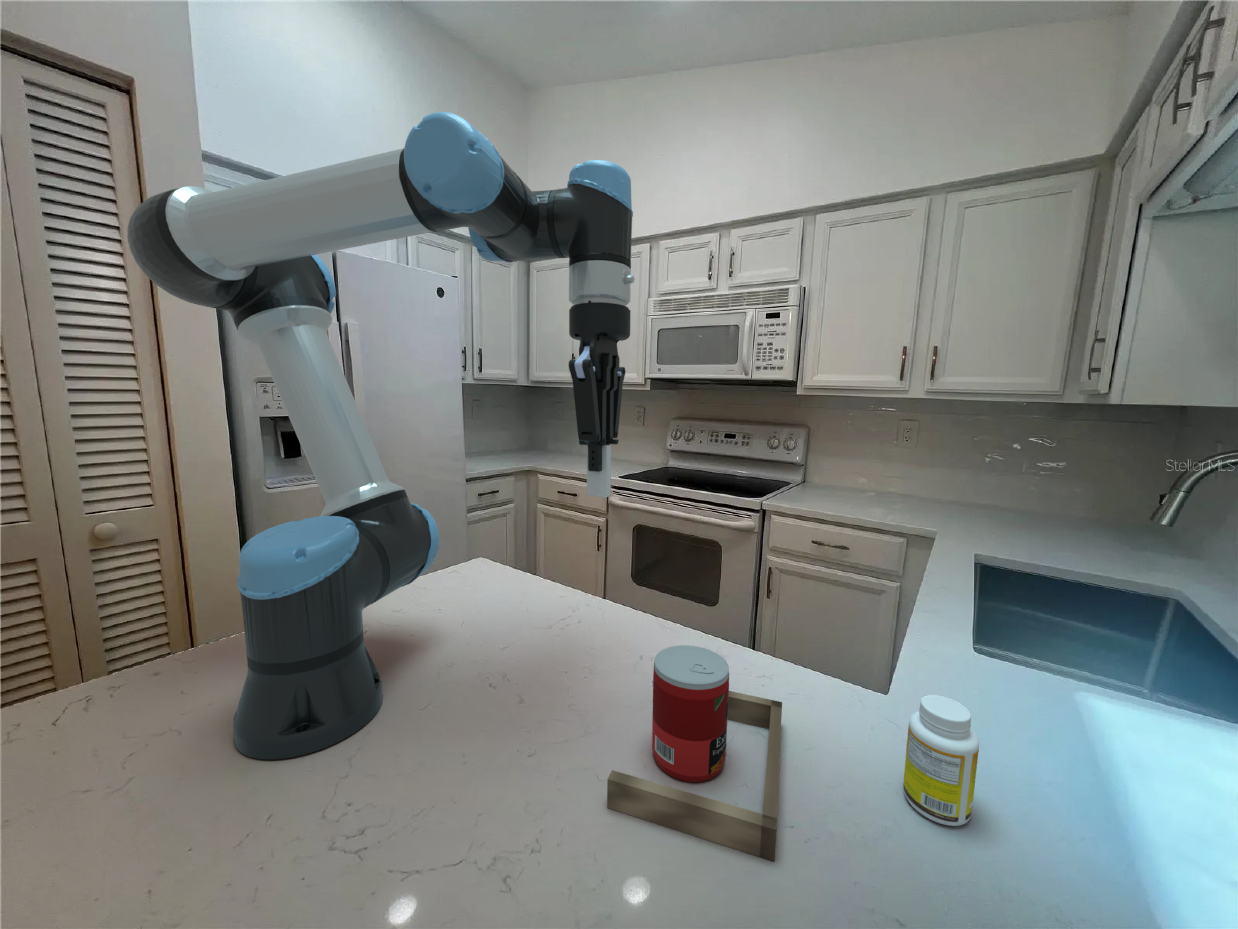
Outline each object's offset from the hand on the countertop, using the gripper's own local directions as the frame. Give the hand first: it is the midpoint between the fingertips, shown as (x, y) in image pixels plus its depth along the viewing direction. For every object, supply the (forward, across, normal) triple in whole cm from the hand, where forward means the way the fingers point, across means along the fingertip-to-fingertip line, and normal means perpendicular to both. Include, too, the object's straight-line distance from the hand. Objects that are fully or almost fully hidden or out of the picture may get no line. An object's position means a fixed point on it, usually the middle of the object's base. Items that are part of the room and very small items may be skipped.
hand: (598, 495), depth 61 cm
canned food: (+27, -8, -14) cm, 31 cm away
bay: (+26, -8, -17) cm, 33 cm away
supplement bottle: (+27, -6, -38) cm, 47 cm away
